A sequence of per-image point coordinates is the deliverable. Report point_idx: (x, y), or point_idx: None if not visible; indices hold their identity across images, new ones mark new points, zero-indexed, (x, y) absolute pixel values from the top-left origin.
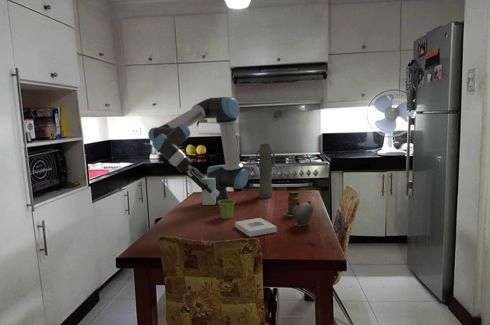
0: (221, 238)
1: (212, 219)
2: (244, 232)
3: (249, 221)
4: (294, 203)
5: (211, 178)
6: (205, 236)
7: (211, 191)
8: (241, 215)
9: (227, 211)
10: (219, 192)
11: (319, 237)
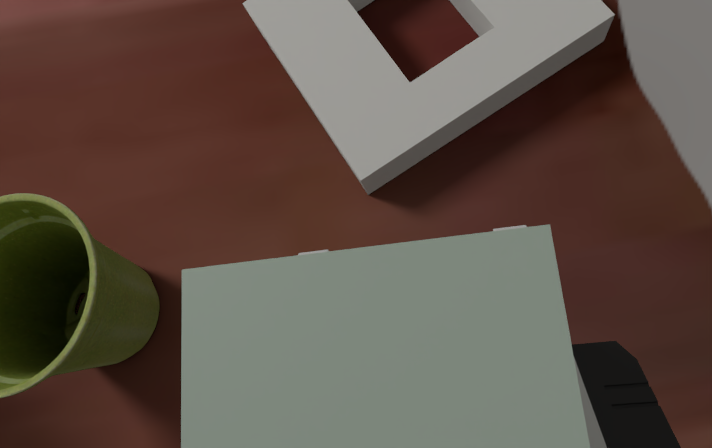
0: (690, 251)
1: (163, 437)
2: (523, 91)
3: (344, 65)
4: None
5: (348, 410)
6: (665, 410)
7: (627, 357)
8: (68, 197)
9: (127, 283)
10: (302, 254)
11: None
